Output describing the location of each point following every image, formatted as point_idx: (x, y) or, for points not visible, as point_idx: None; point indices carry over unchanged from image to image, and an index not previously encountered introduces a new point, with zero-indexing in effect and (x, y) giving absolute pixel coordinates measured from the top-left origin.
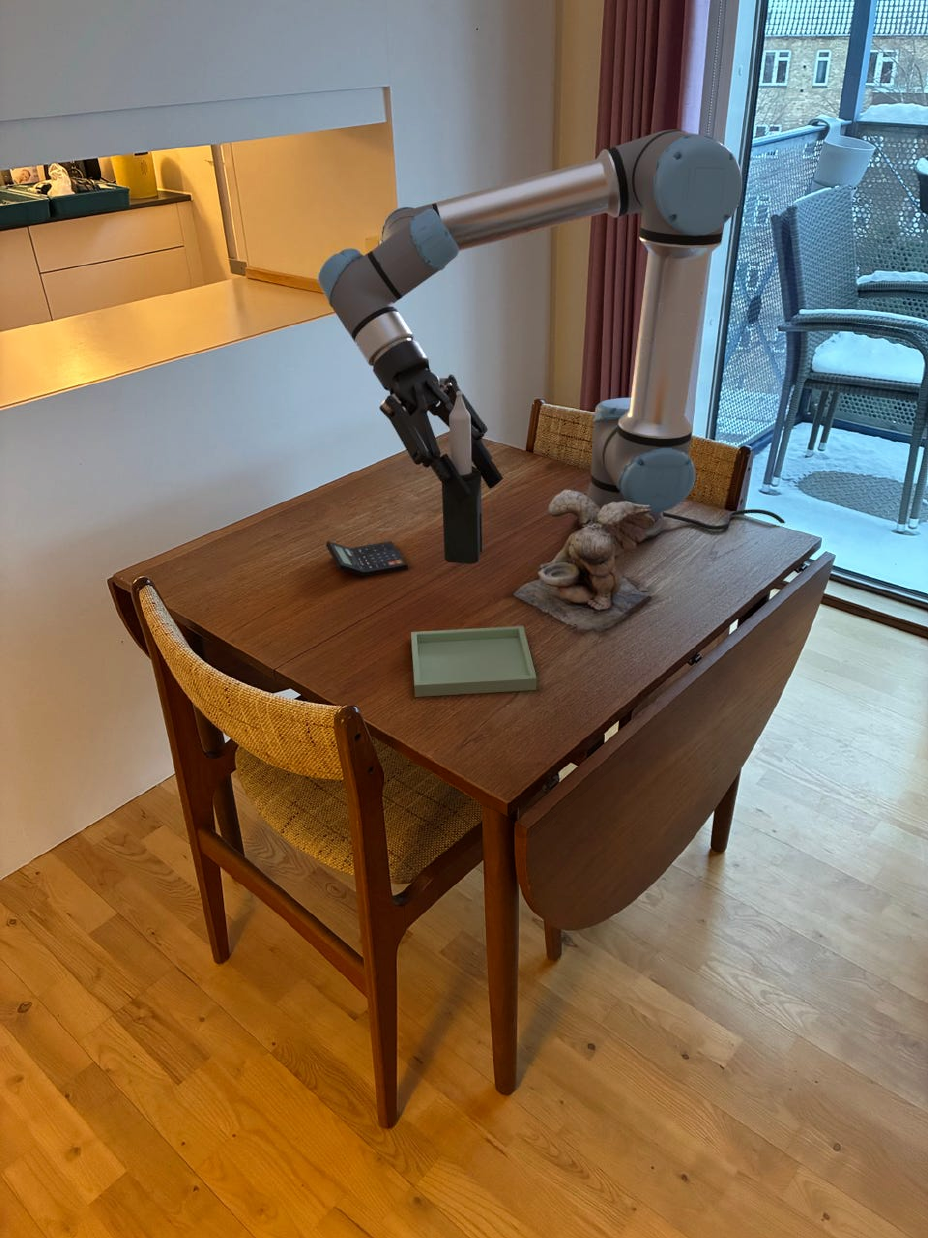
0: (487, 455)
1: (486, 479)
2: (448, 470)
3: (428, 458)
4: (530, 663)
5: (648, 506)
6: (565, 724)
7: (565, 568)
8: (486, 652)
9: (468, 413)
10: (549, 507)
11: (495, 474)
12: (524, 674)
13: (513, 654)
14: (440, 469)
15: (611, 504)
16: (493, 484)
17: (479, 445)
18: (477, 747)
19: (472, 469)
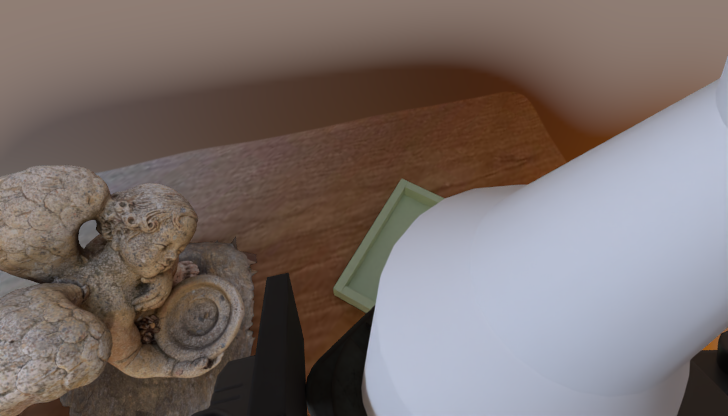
0: (264, 343)
1: (302, 349)
2: None
3: (696, 354)
4: (388, 205)
5: None
6: (410, 130)
7: (172, 329)
8: None
9: (439, 212)
10: (89, 368)
11: (289, 289)
12: (397, 213)
13: (380, 257)
14: None
15: (33, 191)
16: (297, 314)
17: (271, 390)
18: (515, 149)
19: (358, 368)
